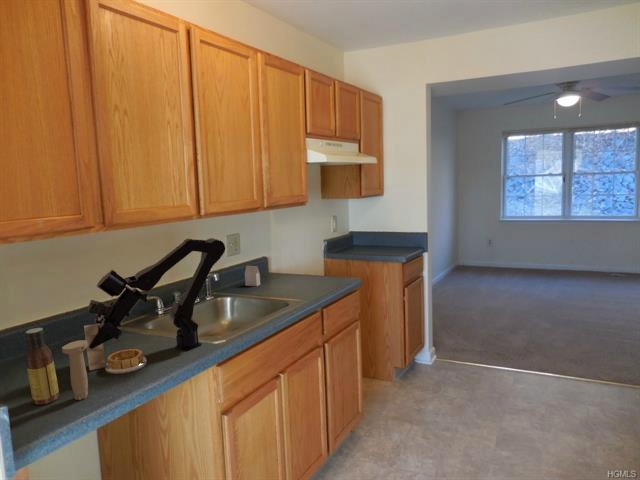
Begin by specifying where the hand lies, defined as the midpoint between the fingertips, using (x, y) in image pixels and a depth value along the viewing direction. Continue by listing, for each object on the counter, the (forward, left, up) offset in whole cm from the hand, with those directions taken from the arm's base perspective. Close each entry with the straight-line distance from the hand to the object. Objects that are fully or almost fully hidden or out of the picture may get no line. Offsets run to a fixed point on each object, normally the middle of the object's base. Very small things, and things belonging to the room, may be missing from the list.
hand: (89, 345), depth 147 cm
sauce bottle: (+19, +11, -7) cm, 23 cm away
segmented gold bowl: (-6, +9, -7) cm, 13 cm away
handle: (+13, +18, -7) cm, 23 cm away
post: (-1, +1, -7) cm, 7 cm away
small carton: (-103, -29, -7) cm, 108 cm away
